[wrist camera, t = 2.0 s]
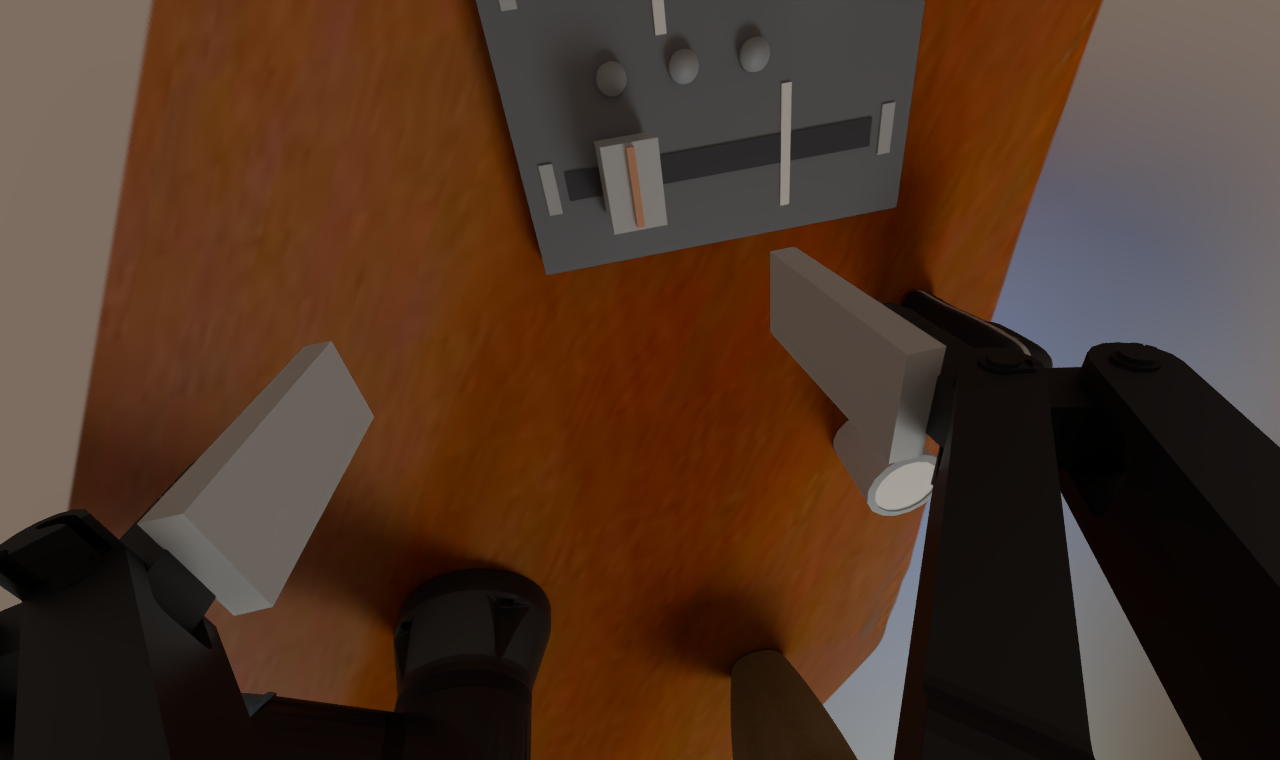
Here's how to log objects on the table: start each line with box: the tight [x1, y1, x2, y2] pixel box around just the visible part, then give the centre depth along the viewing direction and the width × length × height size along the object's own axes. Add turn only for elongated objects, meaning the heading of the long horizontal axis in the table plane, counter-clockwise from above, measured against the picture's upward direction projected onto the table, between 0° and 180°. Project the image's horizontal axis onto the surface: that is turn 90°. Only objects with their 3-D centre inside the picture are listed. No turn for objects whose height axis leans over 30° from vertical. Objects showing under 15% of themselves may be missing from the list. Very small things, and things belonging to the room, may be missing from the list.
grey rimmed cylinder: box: [833, 420, 937, 516], centre depth 43 cm, size 7×7×7 cm
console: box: [476, 0, 925, 275], centre depth 27 cm, size 24×20×3 cm
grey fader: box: [594, 132, 668, 235], centre depth 27 cm, size 3×4×4 cm
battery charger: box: [902, 290, 1053, 368], centre depth 36 cm, size 7×4×11 cm, turn 168°
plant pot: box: [731, 650, 857, 760], centre depth 58 cm, size 15×15×16 cm
